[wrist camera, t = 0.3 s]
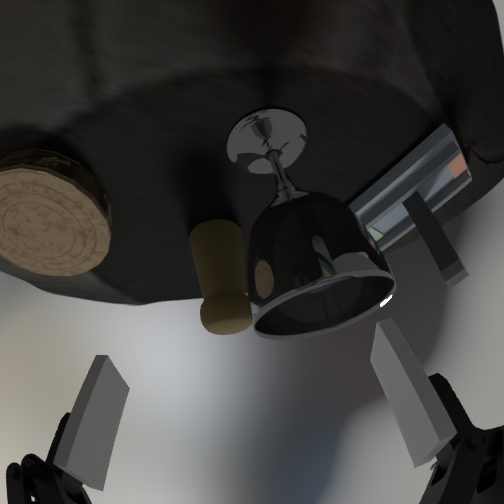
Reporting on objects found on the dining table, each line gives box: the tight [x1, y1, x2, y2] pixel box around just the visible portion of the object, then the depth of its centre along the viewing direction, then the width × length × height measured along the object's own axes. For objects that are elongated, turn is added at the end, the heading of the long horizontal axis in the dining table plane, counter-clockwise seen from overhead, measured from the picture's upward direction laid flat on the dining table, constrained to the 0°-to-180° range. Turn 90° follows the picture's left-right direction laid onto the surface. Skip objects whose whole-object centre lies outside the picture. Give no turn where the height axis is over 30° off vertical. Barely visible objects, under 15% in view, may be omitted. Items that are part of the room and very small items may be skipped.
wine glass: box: [226, 109, 396, 340], centre depth 18 cm, size 8×8×15 cm
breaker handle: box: [402, 191, 469, 287], centre depth 27 cm, size 2×4×11 cm, turn 52°
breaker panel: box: [348, 123, 472, 251], centre depth 30 cm, size 18×11×3 cm, turn 143°
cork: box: [189, 219, 252, 335], centre depth 29 cm, size 6×6×11 cm
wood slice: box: [0, 148, 114, 276], centre depth 22 cm, size 16×16×3 cm
